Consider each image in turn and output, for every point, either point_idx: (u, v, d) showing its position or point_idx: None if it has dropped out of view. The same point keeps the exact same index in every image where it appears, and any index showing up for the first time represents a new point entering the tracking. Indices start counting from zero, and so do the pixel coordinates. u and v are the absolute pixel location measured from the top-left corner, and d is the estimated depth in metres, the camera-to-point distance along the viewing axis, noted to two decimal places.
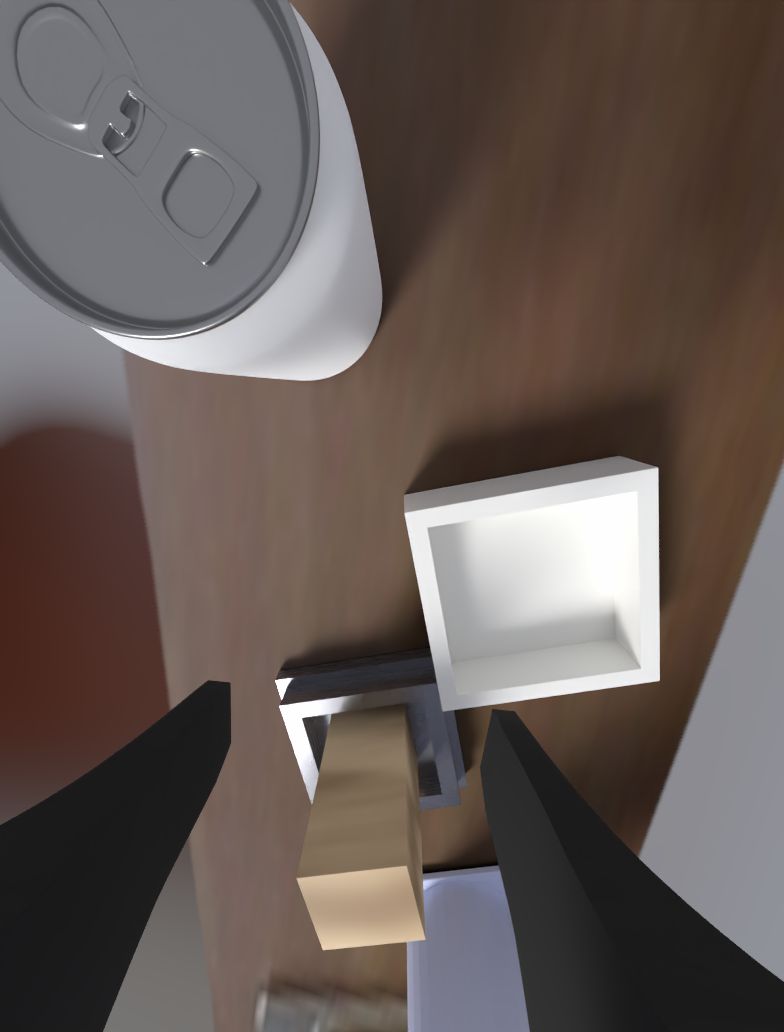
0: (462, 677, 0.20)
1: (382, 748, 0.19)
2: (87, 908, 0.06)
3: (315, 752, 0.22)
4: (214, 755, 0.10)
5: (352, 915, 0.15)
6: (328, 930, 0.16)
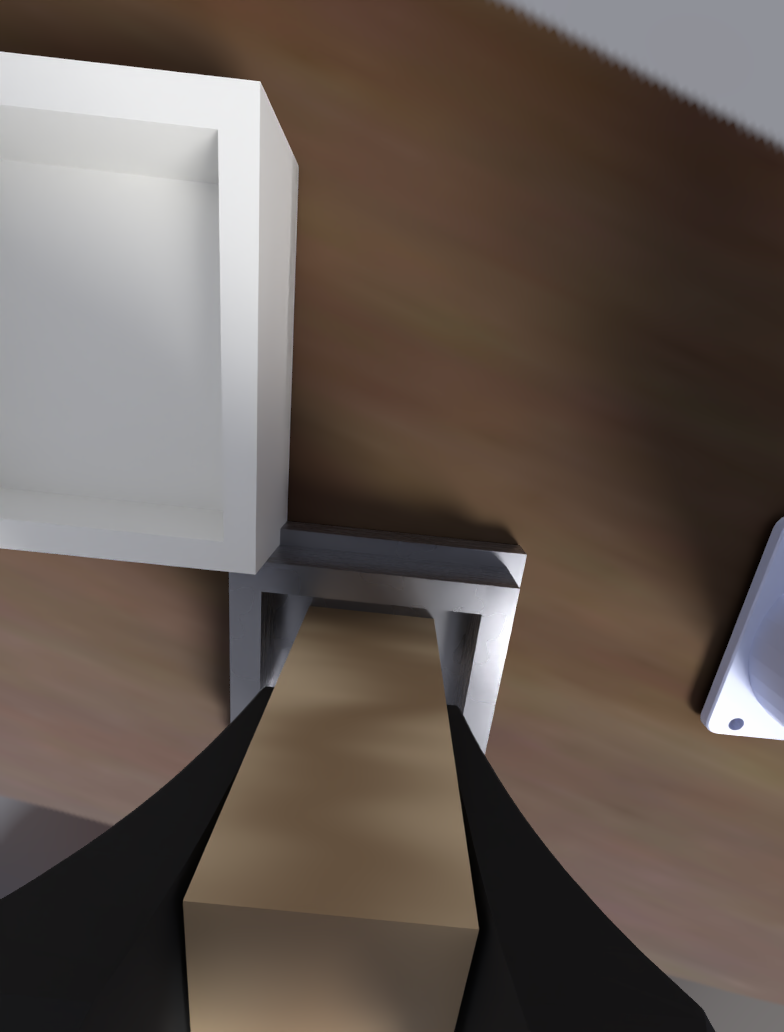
0: None
1: None
2: None
3: None
4: None
5: (337, 1026, 0.06)
6: None
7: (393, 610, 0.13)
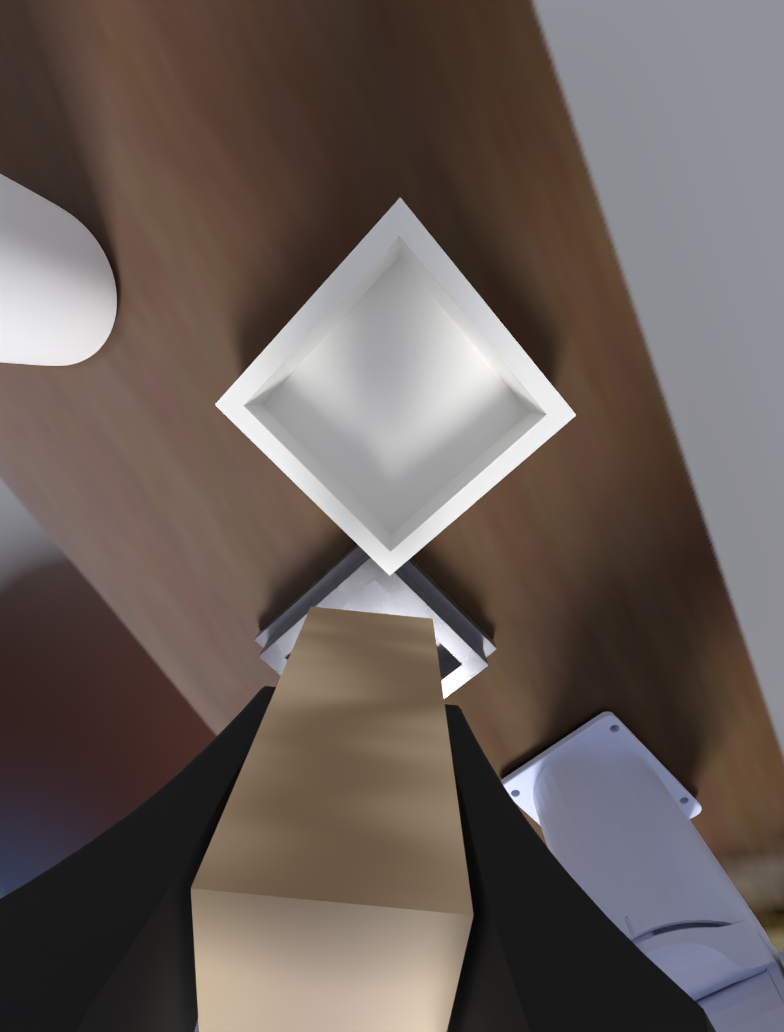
0: (397, 536, 0.19)
1: None
2: (187, 918, 0.06)
3: None
4: None
5: (338, 1009, 0.07)
6: None
7: None
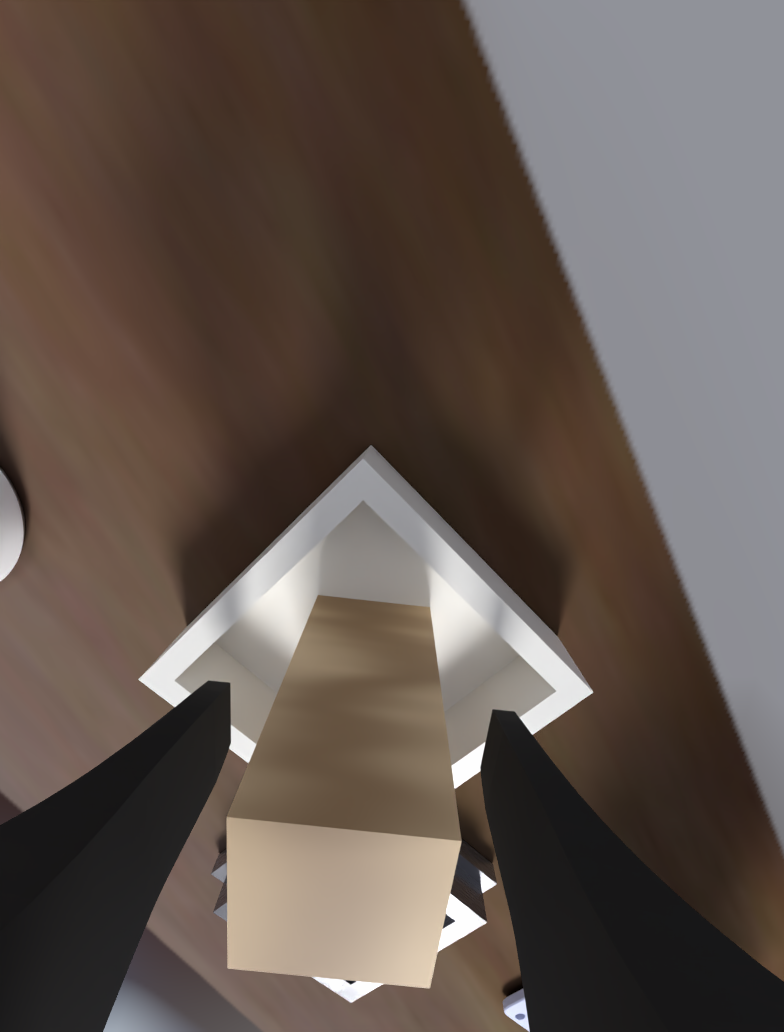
0: None
1: None
2: (87, 908, 0.06)
3: None
4: (214, 755, 0.10)
5: (347, 927, 0.08)
6: (378, 967, 0.08)
7: None
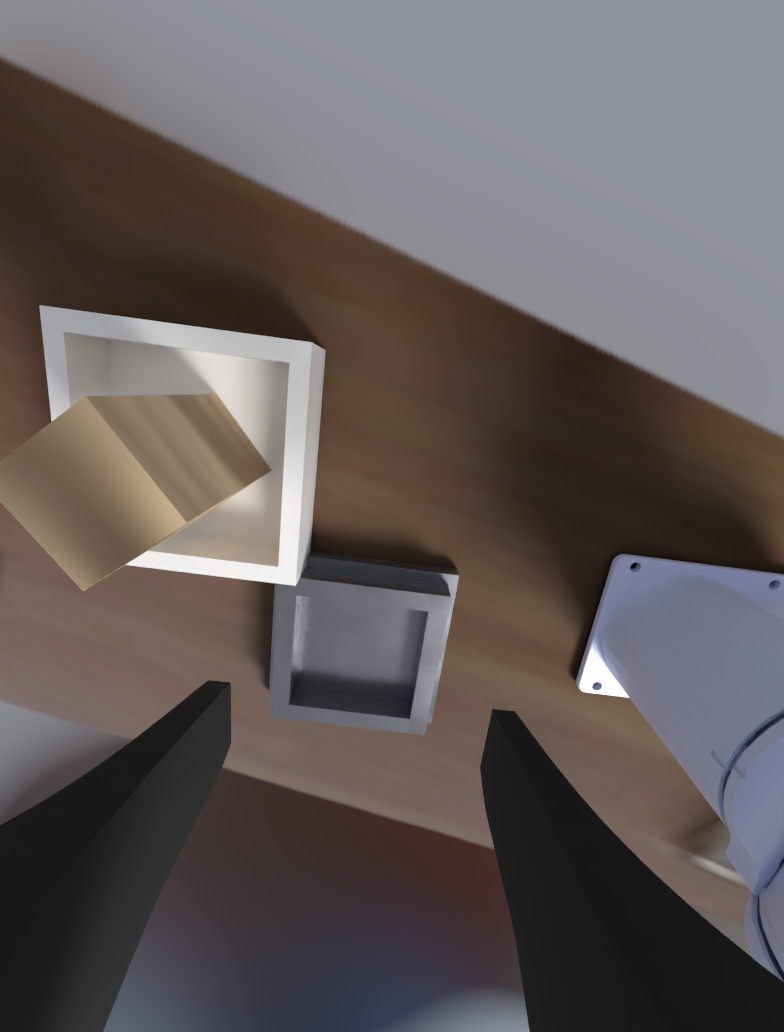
0: None
1: None
2: (87, 908, 0.06)
3: (341, 705, 0.21)
4: (214, 755, 0.10)
5: (101, 509, 0.11)
6: (147, 528, 0.12)
7: (376, 608, 0.21)
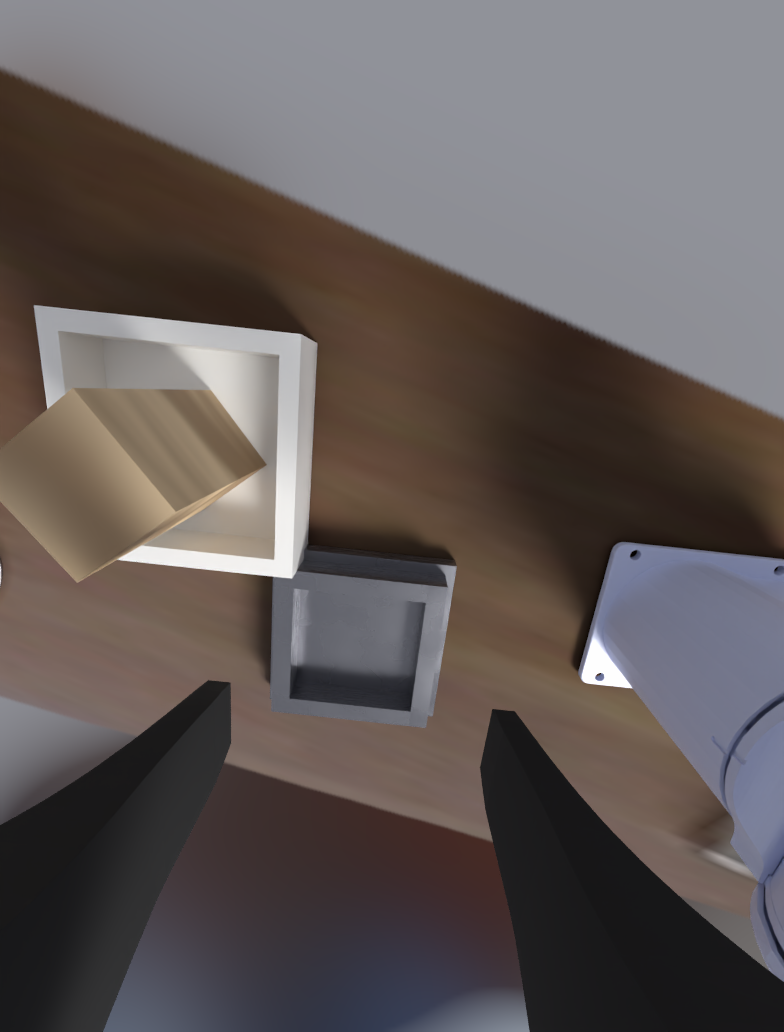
0: None
1: None
2: (87, 908, 0.06)
3: (342, 699, 0.21)
4: (214, 755, 0.10)
5: (92, 500, 0.12)
6: (137, 518, 0.12)
7: (374, 601, 0.21)
